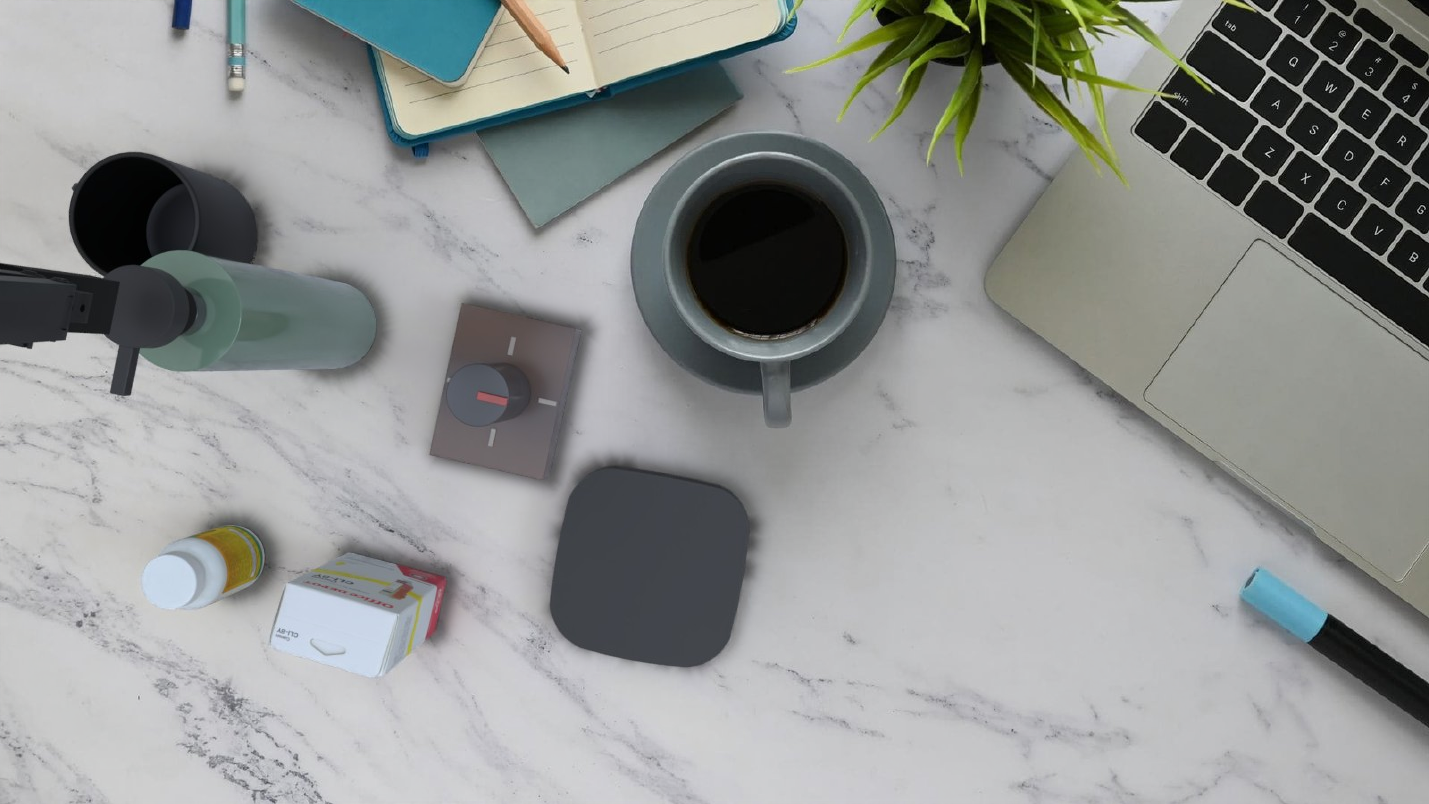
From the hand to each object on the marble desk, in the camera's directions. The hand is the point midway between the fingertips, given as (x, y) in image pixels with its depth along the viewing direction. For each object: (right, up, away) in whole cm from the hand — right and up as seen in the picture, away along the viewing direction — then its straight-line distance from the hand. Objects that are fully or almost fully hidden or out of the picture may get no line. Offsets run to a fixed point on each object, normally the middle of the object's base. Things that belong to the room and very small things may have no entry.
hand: (100, 304), depth 50 cm
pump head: (0, -1, +5) cm, 5 cm away
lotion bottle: (0, +1, +29) cm, 29 cm away
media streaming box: (+26, -18, +30) cm, 43 cm away
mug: (-11, +9, +29) cm, 33 cm away
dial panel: (+15, -4, +29) cm, 33 cm away
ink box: (+5, -20, +30) cm, 37 cm away
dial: (+15, -4, +26) cm, 30 cm away
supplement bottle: (-8, -17, +30) cm, 36 cm away
